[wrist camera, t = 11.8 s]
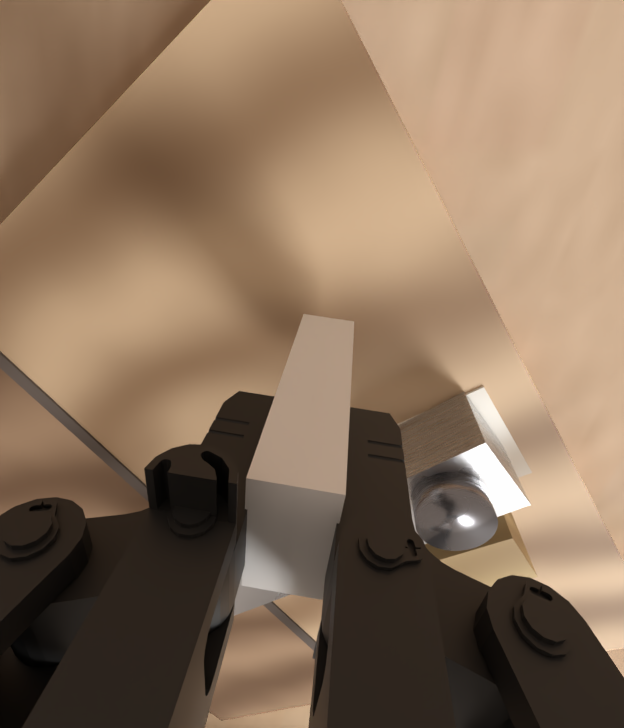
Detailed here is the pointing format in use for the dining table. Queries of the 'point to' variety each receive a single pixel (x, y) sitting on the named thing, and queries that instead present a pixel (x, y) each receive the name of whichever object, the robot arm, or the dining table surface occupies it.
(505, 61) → the dining table surface
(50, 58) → the dining table surface
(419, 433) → the bar
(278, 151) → the door board
